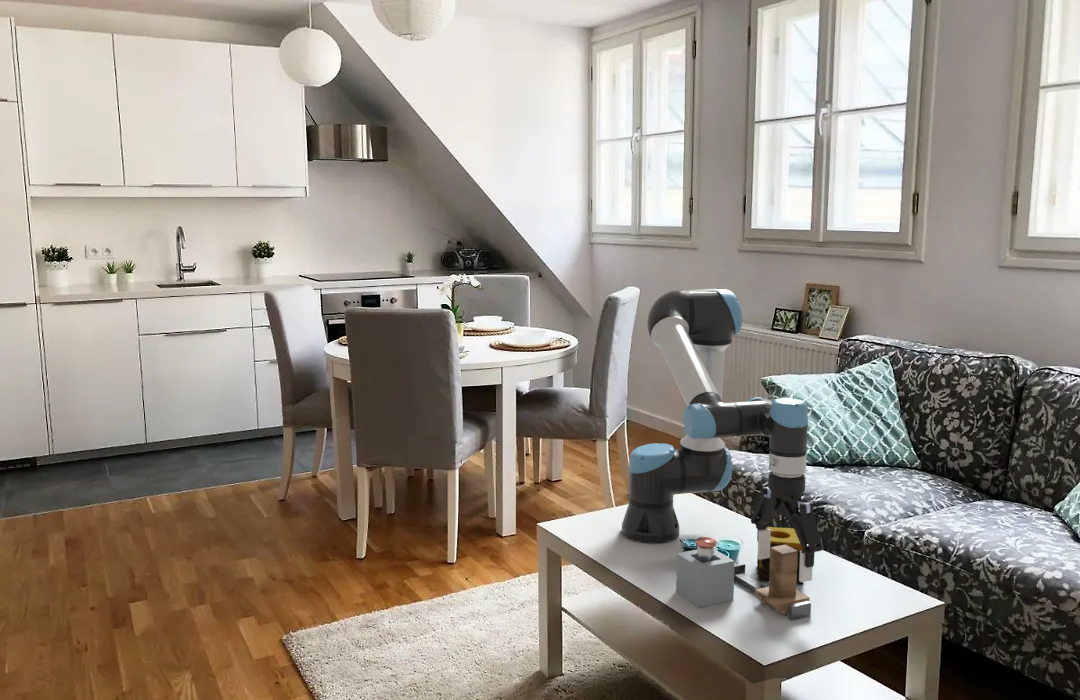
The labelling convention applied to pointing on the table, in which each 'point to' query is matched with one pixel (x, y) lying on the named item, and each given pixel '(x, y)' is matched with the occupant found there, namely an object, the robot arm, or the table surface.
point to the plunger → (705, 549)
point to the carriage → (782, 580)
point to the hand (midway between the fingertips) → (783, 569)
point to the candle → (776, 539)
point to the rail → (740, 577)
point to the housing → (705, 578)
